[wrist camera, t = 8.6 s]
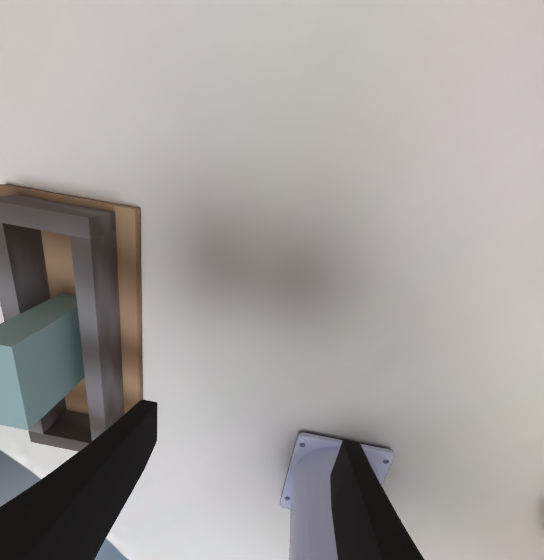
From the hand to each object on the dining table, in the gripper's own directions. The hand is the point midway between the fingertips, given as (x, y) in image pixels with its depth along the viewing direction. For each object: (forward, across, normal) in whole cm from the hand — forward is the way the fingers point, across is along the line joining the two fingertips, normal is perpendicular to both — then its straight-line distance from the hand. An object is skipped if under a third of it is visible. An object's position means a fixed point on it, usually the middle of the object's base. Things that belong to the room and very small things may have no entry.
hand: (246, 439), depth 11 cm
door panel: (+9, +14, +4) cm, 17 cm away
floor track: (+10, +14, +4) cm, 18 cm away
